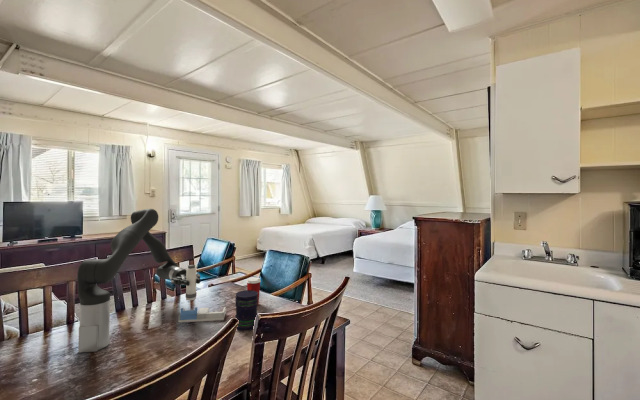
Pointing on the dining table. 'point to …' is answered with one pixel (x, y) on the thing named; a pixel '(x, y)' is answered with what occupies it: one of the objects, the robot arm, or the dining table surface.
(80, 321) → the robot arm
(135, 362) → the dining table surface
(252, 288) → the paper cup
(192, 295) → the off-white tall block
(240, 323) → the storage jar
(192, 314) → the grey blue holder base
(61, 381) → the dining table surface
